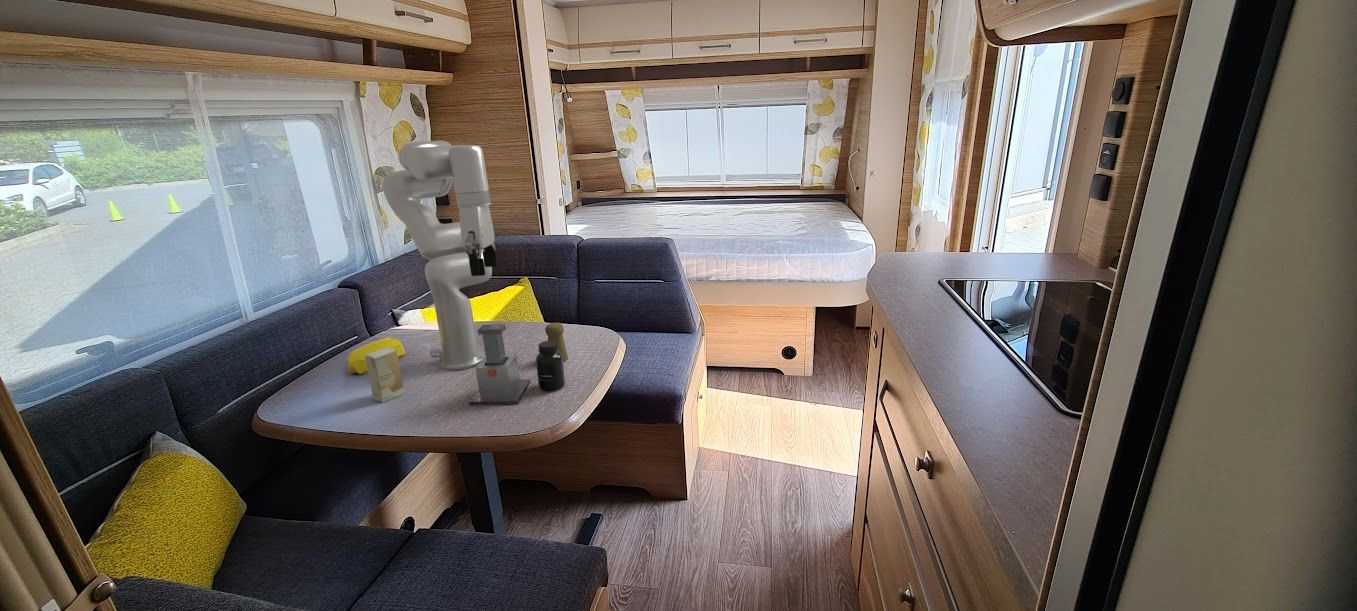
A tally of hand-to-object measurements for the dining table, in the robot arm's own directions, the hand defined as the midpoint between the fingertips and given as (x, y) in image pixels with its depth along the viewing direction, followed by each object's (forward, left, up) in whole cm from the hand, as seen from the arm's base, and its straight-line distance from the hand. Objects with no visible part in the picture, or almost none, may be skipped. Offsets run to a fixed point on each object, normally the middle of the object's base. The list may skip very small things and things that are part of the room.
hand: (485, 270), depth 138 cm
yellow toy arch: (-43, +18, -32) cm, 56 cm away
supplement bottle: (+13, +1, -32) cm, 35 cm away
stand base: (0, -3, -32) cm, 32 cm away
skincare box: (-29, -3, -32) cm, 43 cm away
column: (0, -3, -30) cm, 30 cm away
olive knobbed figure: (+10, +18, -32) cm, 38 cm away
